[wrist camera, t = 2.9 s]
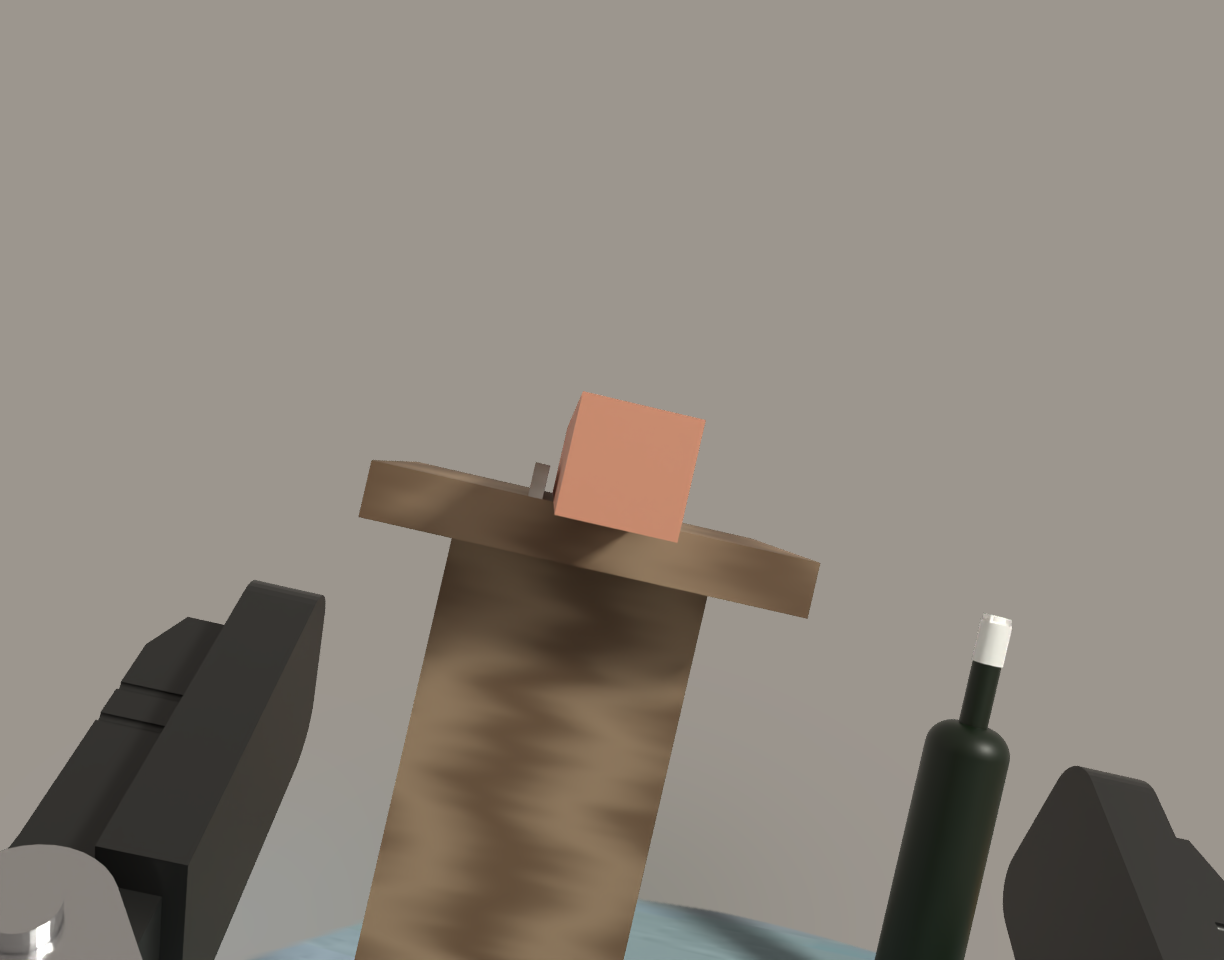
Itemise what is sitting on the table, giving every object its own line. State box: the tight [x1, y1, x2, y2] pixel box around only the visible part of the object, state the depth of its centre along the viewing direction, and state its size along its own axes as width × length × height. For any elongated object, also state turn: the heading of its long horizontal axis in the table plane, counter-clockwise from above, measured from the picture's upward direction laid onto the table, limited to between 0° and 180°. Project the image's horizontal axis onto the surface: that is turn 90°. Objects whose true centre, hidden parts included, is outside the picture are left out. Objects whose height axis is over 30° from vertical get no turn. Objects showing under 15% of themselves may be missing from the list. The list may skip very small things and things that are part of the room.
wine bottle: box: [875, 613, 1012, 960], centre depth 82 cm, size 6×6×30 cm
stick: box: [553, 392, 705, 543], centre depth 43 cm, size 3×26×3 cm, turn 3°
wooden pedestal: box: [355, 460, 820, 960], centre depth 48 cm, size 18×16×33 cm
